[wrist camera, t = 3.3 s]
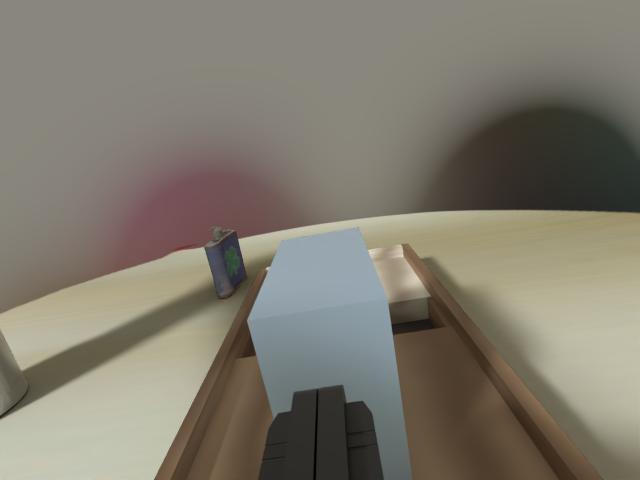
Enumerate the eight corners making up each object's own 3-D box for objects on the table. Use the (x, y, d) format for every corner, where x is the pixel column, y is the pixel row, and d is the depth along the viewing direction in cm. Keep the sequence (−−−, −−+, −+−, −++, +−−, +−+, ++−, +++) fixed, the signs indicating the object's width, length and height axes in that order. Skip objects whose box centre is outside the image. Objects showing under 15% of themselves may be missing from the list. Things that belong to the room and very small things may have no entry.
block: (298, 508, 17) (246, 320, 14) (308, 361, 29) (281, 240, 26) (414, 493, 17) (387, 298, 14) (377, 351, 28) (358, 227, 25)
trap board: (149, 613, 17) (118, 550, 15) (267, 295, 51) (260, 268, 50) (607, 564, 15) (613, 492, 14) (410, 271, 50) (407, 243, 49)
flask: (230, 298, 53) (211, 233, 50) (213, 300, 53) (193, 236, 50) (250, 275, 61) (235, 219, 59) (235, 276, 62) (220, 221, 59)
